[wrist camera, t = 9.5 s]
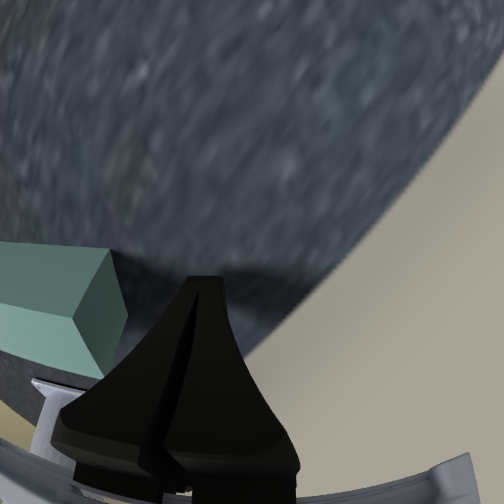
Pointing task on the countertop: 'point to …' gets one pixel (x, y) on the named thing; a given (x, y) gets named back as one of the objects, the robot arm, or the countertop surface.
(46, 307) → the mint green rectangular prism
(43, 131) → the countertop surface
